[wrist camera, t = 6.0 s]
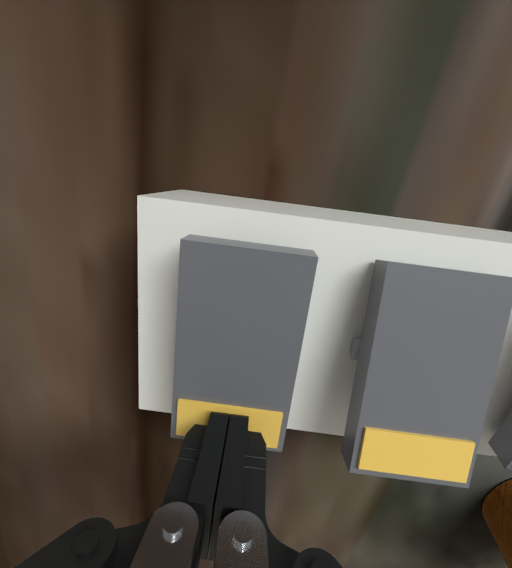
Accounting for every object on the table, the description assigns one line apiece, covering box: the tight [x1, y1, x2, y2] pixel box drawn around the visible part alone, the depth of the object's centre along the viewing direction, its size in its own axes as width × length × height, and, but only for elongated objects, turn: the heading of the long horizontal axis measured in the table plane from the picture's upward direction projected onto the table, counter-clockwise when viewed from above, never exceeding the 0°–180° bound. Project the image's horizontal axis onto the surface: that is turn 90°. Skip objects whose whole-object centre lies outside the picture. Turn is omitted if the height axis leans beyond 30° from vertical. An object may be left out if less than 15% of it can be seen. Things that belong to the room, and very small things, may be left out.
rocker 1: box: [170, 234, 318, 452], centre depth 12 cm, size 8×4×1 cm, turn 173°
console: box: [137, 190, 512, 456], centre depth 16 cm, size 10×23×7 cm, turn 83°
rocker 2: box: [341, 260, 512, 488], centre depth 12 cm, size 8×4×1 cm, turn 173°
